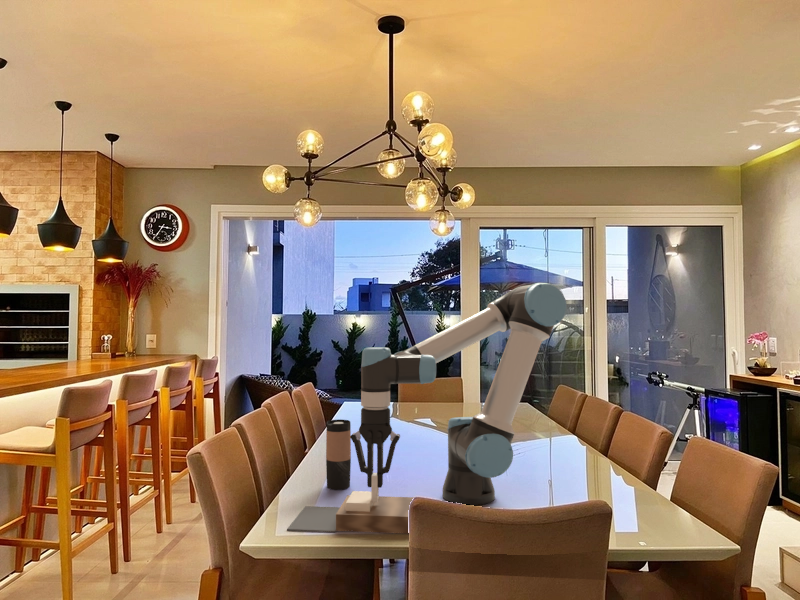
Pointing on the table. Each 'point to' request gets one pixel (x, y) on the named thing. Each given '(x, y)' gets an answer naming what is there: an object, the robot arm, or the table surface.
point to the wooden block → (376, 516)
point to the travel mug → (338, 454)
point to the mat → (315, 519)
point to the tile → (359, 501)
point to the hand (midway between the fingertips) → (375, 499)
